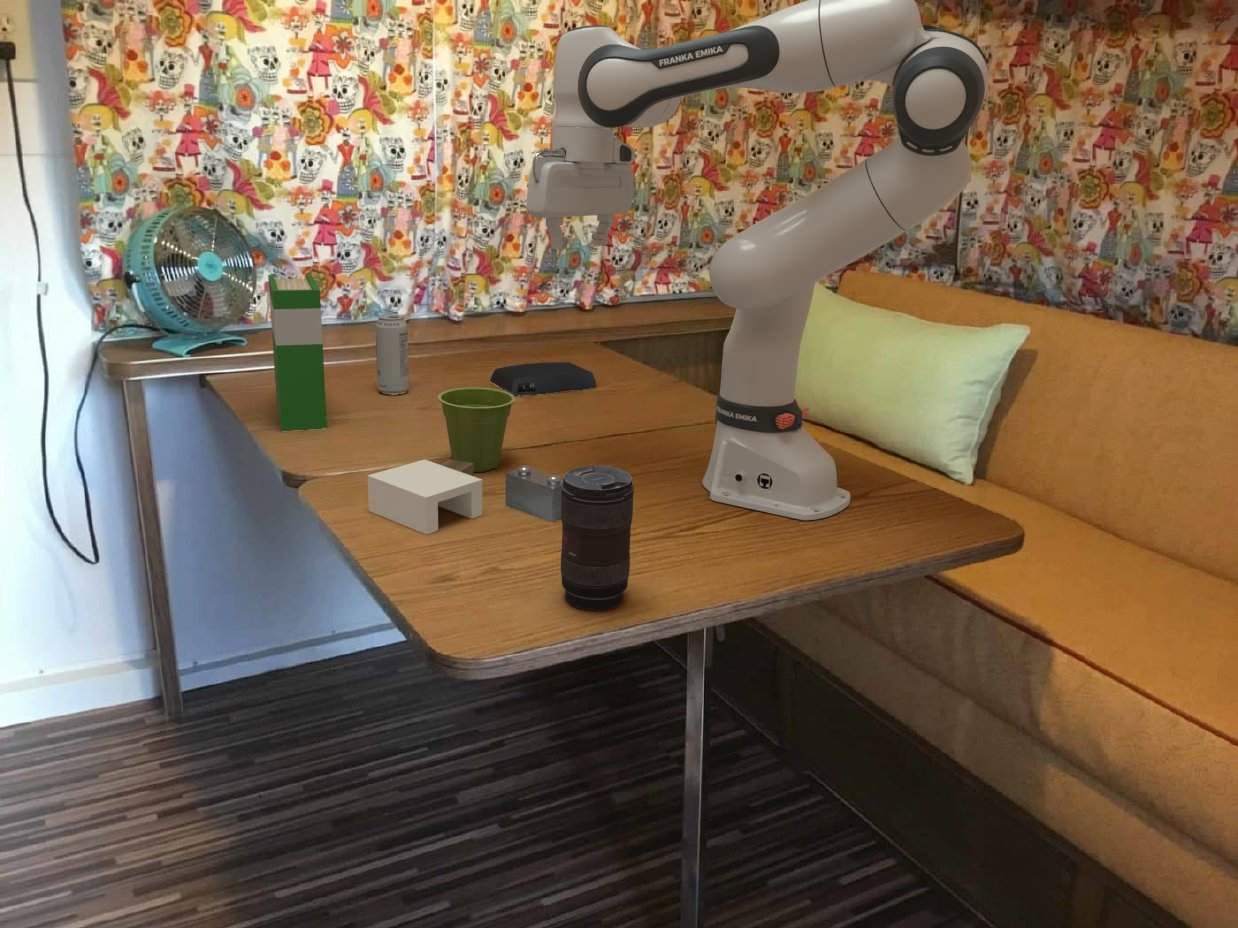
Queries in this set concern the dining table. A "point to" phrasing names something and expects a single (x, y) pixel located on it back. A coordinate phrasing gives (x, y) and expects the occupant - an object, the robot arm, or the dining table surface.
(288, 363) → the hardback book
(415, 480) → the stand
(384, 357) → the energy drink can
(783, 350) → the robot arm
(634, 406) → the dining table surface
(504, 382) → the external hard drive
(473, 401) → the plant pot
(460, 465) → the walnut block
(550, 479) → the block
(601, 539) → the camera lens
